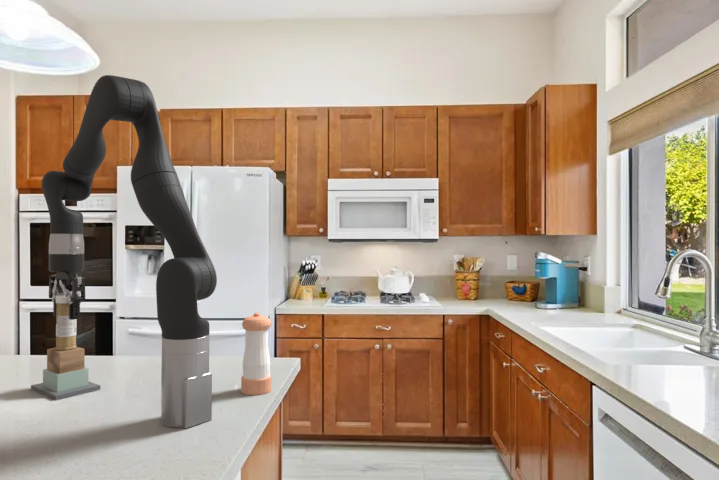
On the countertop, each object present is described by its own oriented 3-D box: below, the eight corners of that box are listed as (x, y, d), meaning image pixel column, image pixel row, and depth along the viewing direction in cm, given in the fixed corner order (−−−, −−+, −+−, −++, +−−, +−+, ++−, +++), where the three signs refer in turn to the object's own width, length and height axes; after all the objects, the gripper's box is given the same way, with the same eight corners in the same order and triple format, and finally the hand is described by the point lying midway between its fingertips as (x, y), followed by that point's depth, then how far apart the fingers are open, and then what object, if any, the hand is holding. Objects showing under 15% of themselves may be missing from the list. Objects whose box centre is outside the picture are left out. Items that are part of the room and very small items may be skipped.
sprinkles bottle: (61, 347, 120) (61, 293, 120) (80, 346, 121) (80, 293, 121) (51, 351, 116) (51, 295, 116) (71, 350, 116) (71, 295, 116)
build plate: (100, 389, 118) (100, 369, 118) (56, 400, 110) (56, 378, 110) (74, 380, 126) (74, 361, 126) (30, 389, 118) (31, 369, 118)
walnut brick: (84, 368, 118) (84, 348, 119) (59, 373, 114) (60, 352, 114) (71, 364, 123) (71, 345, 123) (47, 369, 118) (47, 349, 118)
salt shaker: (277, 390, 118) (277, 312, 118) (252, 397, 112) (252, 315, 113) (260, 384, 123) (260, 309, 123) (235, 390, 117) (235, 312, 118)
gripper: (37, 252, 120) (37, 317, 119) (63, 252, 111) (62, 322, 111) (69, 251, 126) (69, 313, 126) (96, 252, 117) (96, 318, 117)
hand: (66, 317), depth 118 cm, fingers open, 8 cm apart
